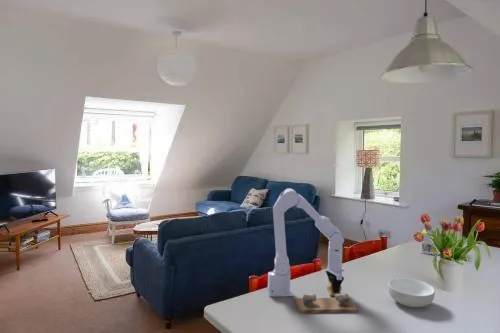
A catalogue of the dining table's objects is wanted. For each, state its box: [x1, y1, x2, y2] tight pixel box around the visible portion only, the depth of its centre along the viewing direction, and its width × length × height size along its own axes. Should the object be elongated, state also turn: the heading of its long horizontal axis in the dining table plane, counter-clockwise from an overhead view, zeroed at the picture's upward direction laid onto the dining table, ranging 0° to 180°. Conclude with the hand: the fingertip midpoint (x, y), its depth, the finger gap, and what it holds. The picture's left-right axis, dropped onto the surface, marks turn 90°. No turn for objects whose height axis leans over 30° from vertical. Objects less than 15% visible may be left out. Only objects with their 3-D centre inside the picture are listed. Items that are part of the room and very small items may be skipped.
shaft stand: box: [294, 293, 359, 314], centre depth 137 cm, size 22×10×5 cm, turn 92°
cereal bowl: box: [387, 277, 436, 309], centre depth 140 cm, size 17×17×7 cm
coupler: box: [326, 279, 343, 297], centre depth 148 cm, size 6×4×5 cm
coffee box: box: [420, 228, 438, 256], centre depth 208 cm, size 12×12×12 cm
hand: (334, 290), depth 148 cm, fingers closed on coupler, 4 cm apart
